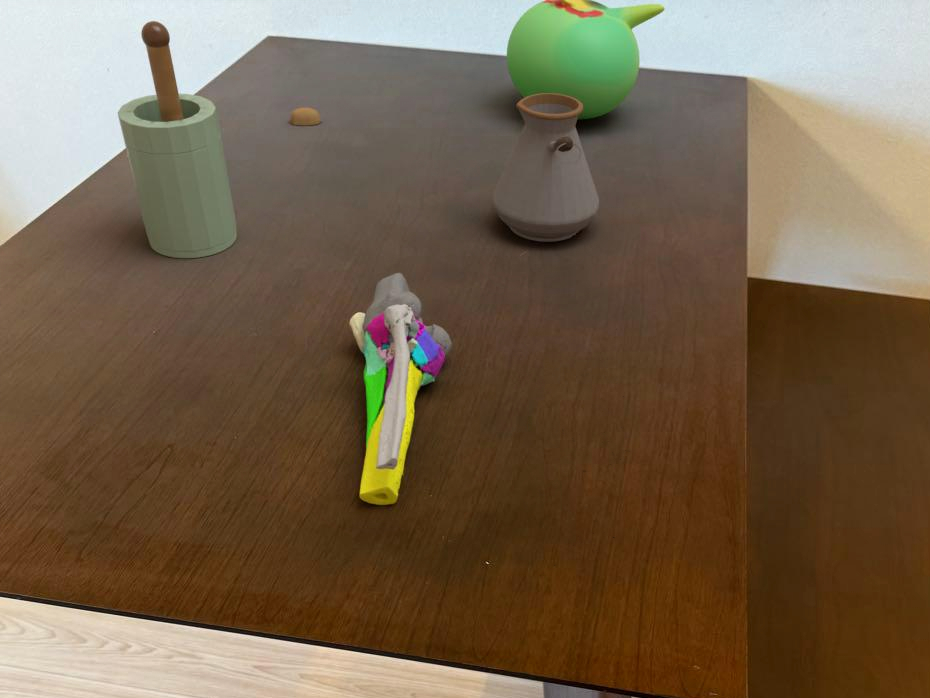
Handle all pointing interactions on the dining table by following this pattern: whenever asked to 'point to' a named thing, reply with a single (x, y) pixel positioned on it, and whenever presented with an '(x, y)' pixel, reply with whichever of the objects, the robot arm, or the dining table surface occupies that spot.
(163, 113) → the wooden pestle
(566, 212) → the coffee pot
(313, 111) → the potato
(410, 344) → the knee model
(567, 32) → the toy bird
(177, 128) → the pale green cup
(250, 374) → the dining table surface
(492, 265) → the dining table surface
